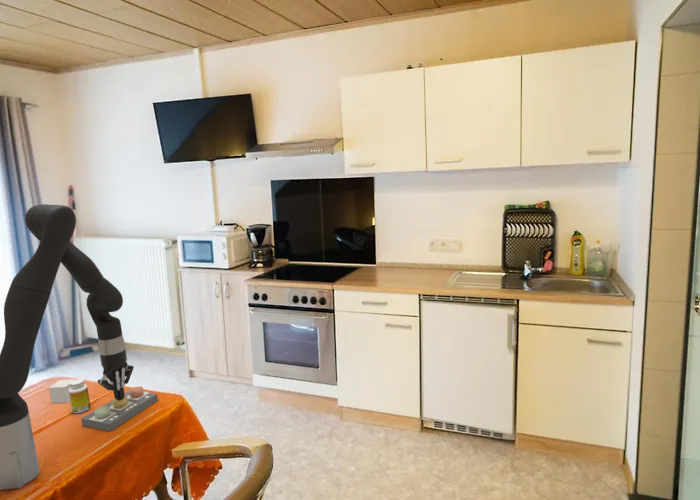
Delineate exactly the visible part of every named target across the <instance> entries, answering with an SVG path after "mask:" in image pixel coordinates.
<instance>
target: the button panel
mask: <svg viewBox="0 0 700 500" xmlns="http://www.w3.org/2000/svg"><path fill="white" fill-rule="evenodd" d="M124 394H125V395H124V396H126V397H127V400H128V403H127V404H126V405H124V406H121V407H114V406H113V402H112V401H113V399H112V400H111V401H109V402H107V403H105V404H104V405H102V406H101V407H104V406H108V407H110V414H109V415H108V416H106V417H103V418H96V417H95V414H94V411H95V410H93V411H92V412H90V413H88V414H86V415H85V416H83V417H81V419H80V421H81V425H82V427H85V428H90V429H91V428H92V429H96V430H102V431H107V432H109V433H110V432H113V430H115V429H117V428H119V427H120V426H122V425H123V424H124V423H126V422H128V421H130V420H131V419H132V418H135V416H137V415H138V414H140V413H142V412H143V411H145V410H146V409H147V408H149V407H150V406H152V405H154V403H157V402H158V401H159V399H158V393H153V392H149V391H144V393H143V394H142V395H140V396H137V397H131V396H130V393H129V390H127V391H126V392H124Z"/></svg>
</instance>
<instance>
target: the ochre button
mask: <svg viewBox="0 0 700 500" xmlns="http://www.w3.org/2000/svg"><path fill="white" fill-rule="evenodd" d="M112 400H113V401H112ZM112 400H111V401H112V402H113V406H114V407H121V406H124V405H126V404H127V403H128V400H127V397H126V396H124V398H123V399H122V400H116V399H115V398H113V399H112Z"/></svg>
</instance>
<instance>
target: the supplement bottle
mask: <svg viewBox="0 0 700 500" xmlns="http://www.w3.org/2000/svg"><path fill="white" fill-rule="evenodd" d="M70 387H71V388H70V389H69V397H70V401H69V402H70V406H71V412H72V413H74V414H82V413H85V412H87V411H88V410H89V409H90V408H91V401H90V394H89V390H88V389H89V388H88V385H87V384H85V380H84V379H82V378H80V379H76V380H75V381H72V382H71V383H70Z"/></svg>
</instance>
